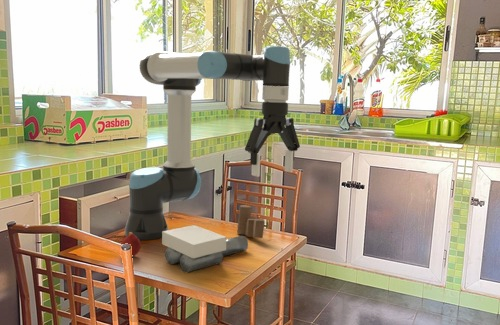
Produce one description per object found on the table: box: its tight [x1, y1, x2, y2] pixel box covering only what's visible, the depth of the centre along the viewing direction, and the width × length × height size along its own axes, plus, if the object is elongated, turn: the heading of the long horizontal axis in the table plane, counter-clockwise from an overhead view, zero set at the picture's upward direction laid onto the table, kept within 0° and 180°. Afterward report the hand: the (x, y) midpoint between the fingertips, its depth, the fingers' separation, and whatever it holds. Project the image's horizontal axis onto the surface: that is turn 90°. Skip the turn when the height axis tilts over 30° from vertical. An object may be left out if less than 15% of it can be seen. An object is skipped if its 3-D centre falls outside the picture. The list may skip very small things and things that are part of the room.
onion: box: [121, 232, 142, 257], centre depth 149 cm, size 6×6×8 cm
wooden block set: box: [236, 204, 265, 239], centre depth 175 cm, size 18×9×10 cm, turn 12°
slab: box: [161, 224, 227, 258], centre depth 145 cm, size 16×12×4 cm
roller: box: [221, 235, 249, 257], centre depth 155 cm, size 5×12×5 cm, turn 133°
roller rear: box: [164, 247, 185, 265], centre depth 148 cm, size 5×12×5 cm, turn 133°
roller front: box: [179, 251, 224, 273], centre depth 143 cm, size 5×12×5 cm, turn 133°
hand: (272, 173), depth 142 cm, fingers open, 13 cm apart
